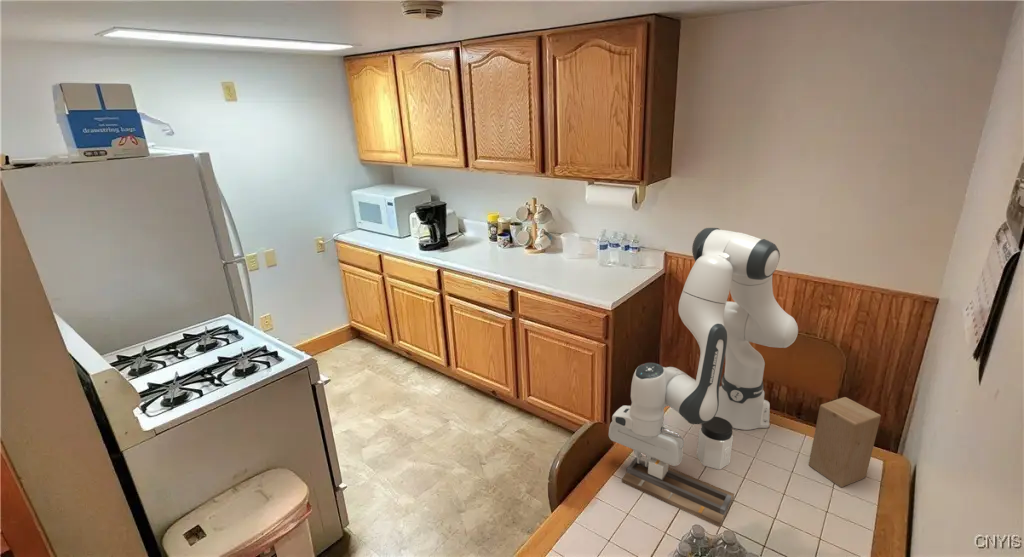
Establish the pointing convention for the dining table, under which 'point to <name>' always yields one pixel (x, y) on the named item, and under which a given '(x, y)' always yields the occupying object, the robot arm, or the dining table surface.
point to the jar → (715, 443)
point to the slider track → (682, 492)
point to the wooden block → (843, 441)
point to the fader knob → (657, 468)
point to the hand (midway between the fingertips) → (643, 464)
